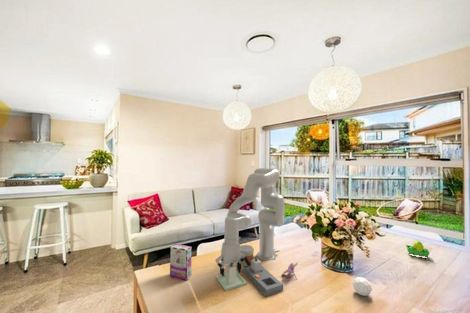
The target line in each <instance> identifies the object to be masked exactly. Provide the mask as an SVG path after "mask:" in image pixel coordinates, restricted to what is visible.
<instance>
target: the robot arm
mask: <svg viewBox="0 0 470 313" xmlns="http://www.w3.org/2000/svg"><path fill="white" fill-rule="evenodd" d="M279 179H280V171H279V170H278V169H275V168H266V167H265V168H264V167H263V168H262V167H261V168H256V169H255V170H254V171H253V173H251V174H249V175H248V177H247V178H246V182H245V185H244V188H243V191H242V193H241V194H240V196H238V197H237V198H236V199H235V200H234V201H233V202H232V203H231V205H230V207H229V208H228V212H227V214H226V217H225V218H224V235H223V236H224V238H223V239H224V240H223V241H224V242H222V245H221V251H220V256H218V257H217V258H215V260H214V261H215V263H216V265H217V266H218V267H219V275H222V276H224V274H225V266H226V265H229V264H230V263H233V264H234V263H236V271H237V272H238V273H241V271H242V270H241V264H242V262H243V261H244V258H245V256H246V255H245V254H244V253H242V252H241V250H240V246H241V243H240V242H239V241H240V240H241V239H242V238H241V236H239V232H240V230H245V229H248V228H249V227H250V226H251V224H252V219H251V217H250V216H249V215H248V214H244V213H239V210H240V209H241V207H243V206H245V205H247V204H250V203H253V202H255V201H256V198H257V196H258V195H257V194H258V193H259V192H258V191H259V189H260V205H261V206H262V207H264V208H263V209H262V208H261V209H260V210H259V211H258V215H257V217H258V222H259V223H258V226H259V251H258V252H257V253H256V257H257V258H258V259H260V260H262V261H272V260H273V261H274V260H276V259H277V255H276V253H279V252H280V248H275V246H274V245H275V243H274V242H275V238H274V237H275V230H274V227H278V228H279V227H282V226H284V223H285V208H286V207H285V206H286V205H285V204H286V203H285V198H284V197H283V195H281V194H275V192H274V191H275V190H274V184H276V183H277V182H278V181H279ZM273 226H274V227H273ZM241 256H242V257H241ZM220 261H221V262H220Z"/></svg>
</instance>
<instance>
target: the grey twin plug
mask: <svg viewBox="0 0 470 313" xmlns="http://www.w3.org/2000/svg"><path fill="white" fill-rule="evenodd" d="M261 266H262V261H261V259H260V260H259V257H258V256H256V257H255V258H253V260H251V271H252V272H253V273H254V274H255V273H259V272H261Z"/></svg>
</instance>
